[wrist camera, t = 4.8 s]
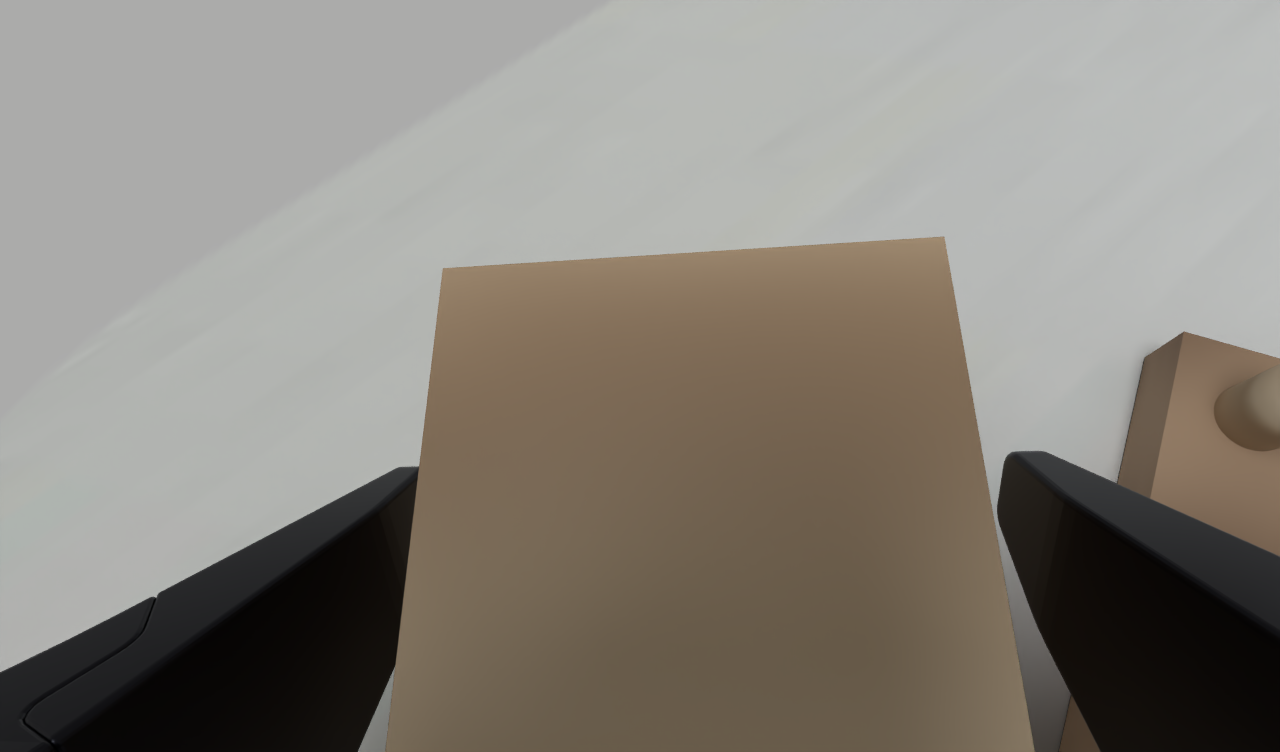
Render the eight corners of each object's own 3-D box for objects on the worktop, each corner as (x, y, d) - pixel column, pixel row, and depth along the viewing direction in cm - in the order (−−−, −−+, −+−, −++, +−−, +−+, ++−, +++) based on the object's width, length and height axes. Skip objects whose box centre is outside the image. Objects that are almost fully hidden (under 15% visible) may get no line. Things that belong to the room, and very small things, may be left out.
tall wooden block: (832, 750, 14) (1090, 1064, 4) (618, 744, 15) (353, 1008, 4) (810, 486, 16) (944, 237, 6) (621, 490, 17) (442, 268, 6)
